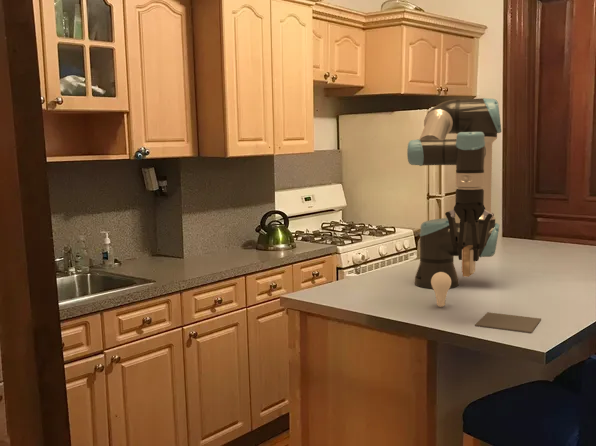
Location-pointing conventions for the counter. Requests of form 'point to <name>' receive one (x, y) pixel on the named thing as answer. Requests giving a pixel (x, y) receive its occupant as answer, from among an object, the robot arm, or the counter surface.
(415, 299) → the counter surface
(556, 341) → the counter surface
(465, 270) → the wooden block
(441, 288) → the lightbulb
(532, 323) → the mat
